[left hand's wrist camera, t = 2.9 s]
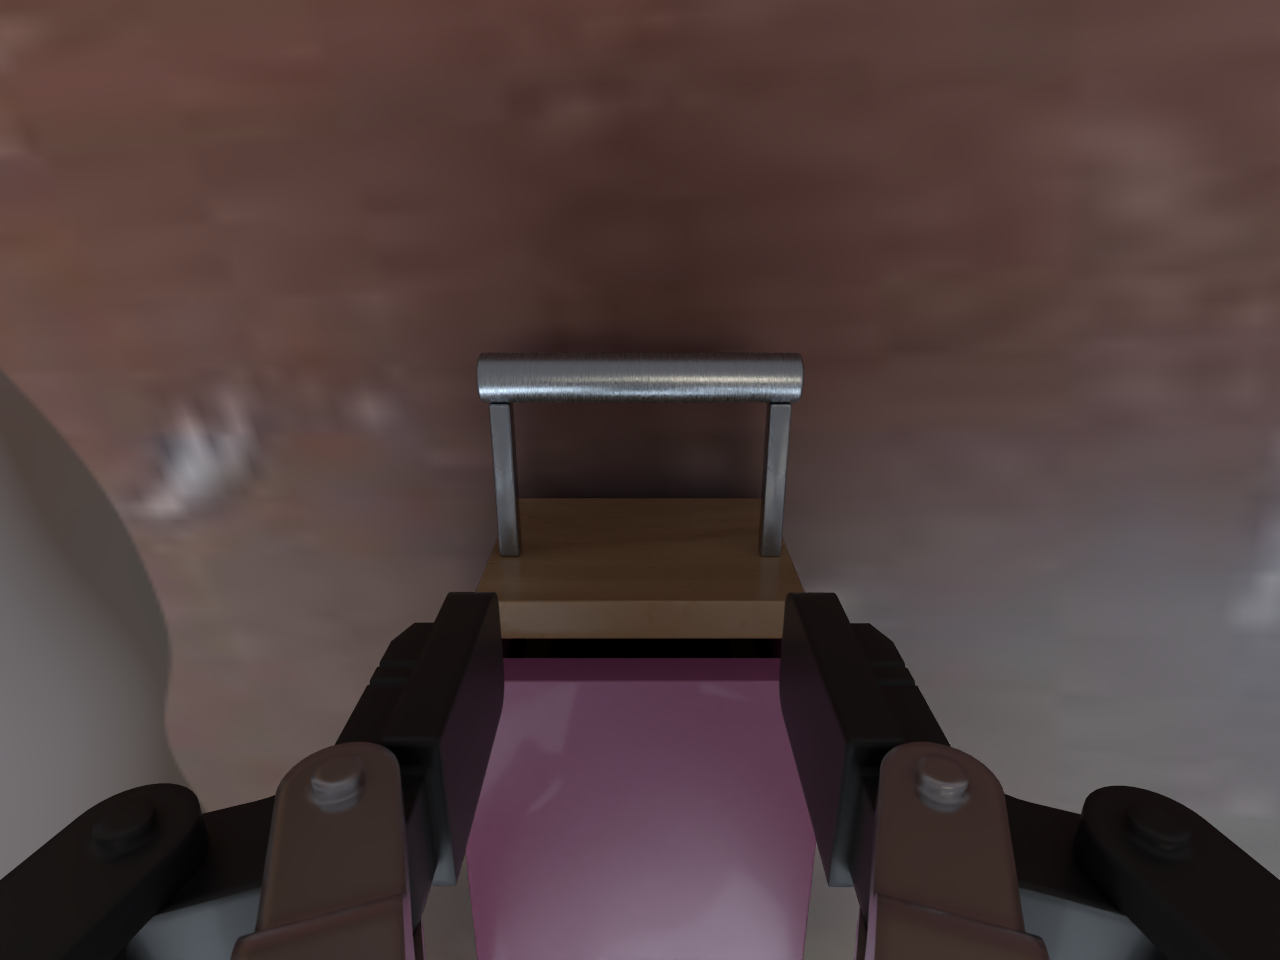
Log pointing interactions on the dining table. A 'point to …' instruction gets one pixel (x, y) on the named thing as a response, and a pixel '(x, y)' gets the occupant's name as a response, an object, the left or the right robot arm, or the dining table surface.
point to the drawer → (640, 519)
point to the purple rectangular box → (641, 813)
